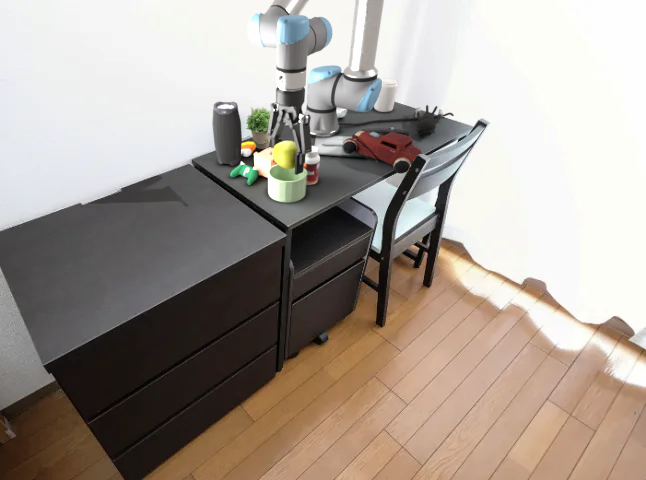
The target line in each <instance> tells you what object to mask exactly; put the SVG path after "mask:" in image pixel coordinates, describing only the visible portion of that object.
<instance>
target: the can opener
mask: <svg viewBox="0 0 646 480" xmlns="http://www.w3.org/2000/svg"><path fill="white" fill-rule="evenodd" d="M362 130H364V131H369V132H371V133H372V132H375V133H378V134H379V135H384V136H385V135H387V134H388V133H390V132H394V133H399V134H403V135H406V136H409V135H410V131H409V129H406V128H401V127H397V128H395V127H393V126H392V127H370V128H369V127H367V128H361V130H360V131H362ZM409 137H410V136H409Z"/></svg>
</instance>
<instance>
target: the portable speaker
mask: <svg viewBox="0 0 646 480" xmlns="http://www.w3.org/2000/svg"><path fill="white" fill-rule="evenodd" d="M211 122H212V123H211V124H212V133H213V143H214V150H215V153H216V158H217V162H218V163H219V164H220V165H224V164H226V165H230V167H231V166H232V167H234V166H238V165H239V164H240V163H241V158H242V154H241V147H242V143H243V136H242V132H243V131H242V121H241V116H240V111H239V107H238V103H237V102H236V101H216V102H215V103H214V104H213V109H212V121H211Z"/></svg>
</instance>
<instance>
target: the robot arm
mask: <svg viewBox="0 0 646 480" xmlns="http://www.w3.org/2000/svg"><path fill="white" fill-rule="evenodd" d="M309 1H310V0H273V2H272V3H271V5H270V6H269V7H268V9H267V10H266V12H265V13H263V12H260V13H255V14H253V15H252V16H250V18H249V20H248V24H247V36H248V39H249V41H250V43H251V44H253V45H255V46H259V47H262V48H269V49H276V67H275V68H276V73H275V74H276V76H275V79H276V81H275V85H276V89H275V102H271V103H270V114H269V121H268V126H267V133H266V134H267V136H268V137H270V139H271V141H272V143H271V145H272V147H271V148H274V146H275V145H276V144H278V143H280V142H283V139H281V138H282V134H283V131H284V129H285V127H286V124H287V125H288V127H289V129H290V130H291V132H292V136H293V139H294V142H295V144H296V148H297V151H298V152H297V153H295V172H294V174H295V175H298V174H300V173H303V167H304V163H305V156H306V154H307V153H309V152H312V146H313V145H312V137H314V138H329V137H333V136H336V135H337V134H338V133H339V130H340V126H362V125H363V126H364V125H368V124H373V123H384V122H401V121H402V122H403V121H418V118H416V117H409V118H407V117H405V118H386V119H376V120H367V121H363V122H356V123H355V122H353V123H352V122H339V119H338V113H337V109H338V108H339V109H344V110H349V111H353V112H356V113H366V114H367V113H369V112H370V111H371V110H372V109H373V108H374V105H375V103H376V101H377V99H378V97H379V94H380V91H381V88H382V80H381V79H382V78H380V77H378V75H379V70H378V69H377V67H376V66H375V64H376V58H377V51H378V43H379V38H380V32H381V31H380V30H381V25H382V24H381V22H382V17H383V9H384V3H385V0H355V1H354V11H353V20H352V29H351V40H350V48H349V58H348V65H347V66H346V67H345V68H344V70H342V67H341V66H339V65H335V64H334V65H322V66H318V67H314V68H312V69H311V70H310V71H309V73H308V78H307V65H308V57H309V56H310V55H313V54H316V53H318V52H321V51H322V50H324V49H325V48H326V47H328V45H330V43H331V41H332V38H333V27H332V24H331V22H330V21H329V20H328V19H327V18H325V17H324V16H314V17H312V18H309V17H308V16H307V15H303V14H301V12H302V11H303V10H304V8H305V7H306V6H307V4H308V3H309ZM342 71H343V72H342ZM307 79H308V80H307ZM306 82H307V83H306ZM306 86H307V91H306V88H305V87H306ZM306 92H307V93H306ZM305 99H306V100H305ZM305 101H306V108H305V112H303V104H305ZM447 116H451V117H454V113H453V112H447V113H443V115H442V117H441V118H444V117H447ZM420 117H421V116H420ZM421 118H423V116H422V117H421ZM437 118H438V116H437V115H434V119H437ZM273 162H274V163H275V161H274V159H273Z"/></svg>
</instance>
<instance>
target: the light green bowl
mask: <svg viewBox="0 0 646 480" xmlns="http://www.w3.org/2000/svg"><path fill="white" fill-rule="evenodd" d="M294 172H295V168H293V169H285V168H283V167H281V166H280V165H278V164H276V165H274V166H272V167H271V168H270V169H269V170H268V178H267V193H268V196H269V197H270V198H271V199H272V200H274V201H277V202H280V203H295V202H298V201H301V200H302V199H304V197H306V193H307V185H306V183H307V170H306V169H305V168H304V167H303V173H300V174H298V175H295V174H294Z"/></svg>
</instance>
